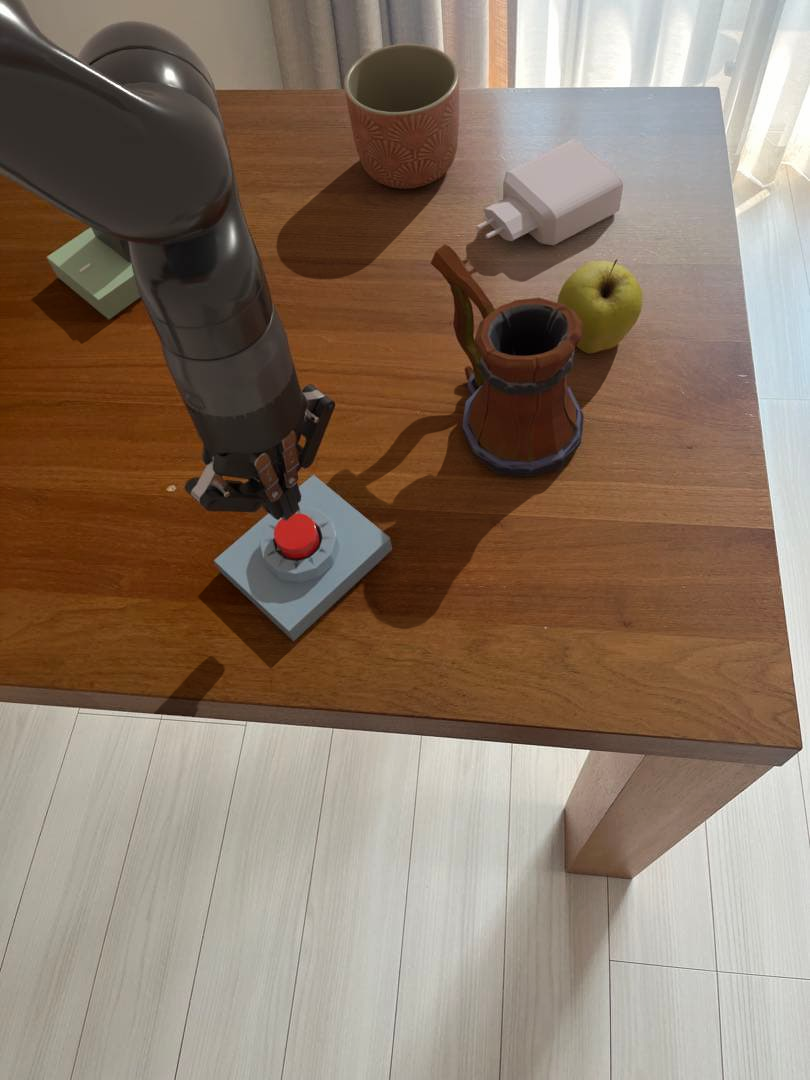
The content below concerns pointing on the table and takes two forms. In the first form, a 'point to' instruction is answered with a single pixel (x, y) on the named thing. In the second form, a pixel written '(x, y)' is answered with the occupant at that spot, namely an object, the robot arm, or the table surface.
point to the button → (296, 536)
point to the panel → (96, 273)
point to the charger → (555, 196)
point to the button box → (305, 561)
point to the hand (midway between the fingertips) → (284, 509)
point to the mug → (515, 376)
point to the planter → (404, 113)
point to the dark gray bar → (114, 244)
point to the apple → (602, 303)
